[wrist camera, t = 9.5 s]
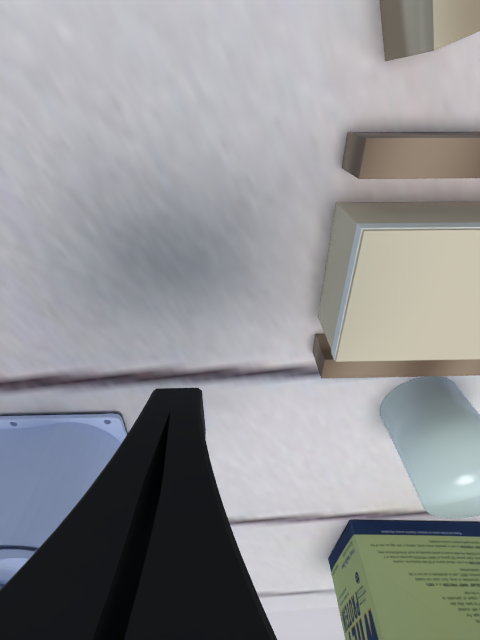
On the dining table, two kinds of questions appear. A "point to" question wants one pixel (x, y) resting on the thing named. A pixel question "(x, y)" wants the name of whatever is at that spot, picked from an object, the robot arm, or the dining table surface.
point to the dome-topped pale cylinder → (437, 443)
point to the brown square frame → (404, 163)
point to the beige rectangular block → (403, 282)
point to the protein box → (408, 580)
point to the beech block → (426, 24)
